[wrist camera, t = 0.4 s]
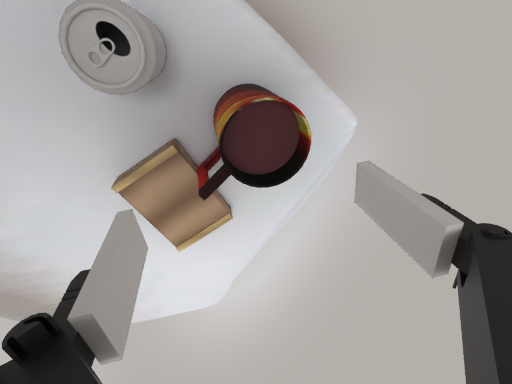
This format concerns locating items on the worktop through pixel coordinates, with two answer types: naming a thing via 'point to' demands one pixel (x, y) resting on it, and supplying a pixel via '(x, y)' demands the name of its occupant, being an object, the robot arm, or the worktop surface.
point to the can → (111, 45)
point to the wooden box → (172, 196)
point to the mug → (255, 140)
